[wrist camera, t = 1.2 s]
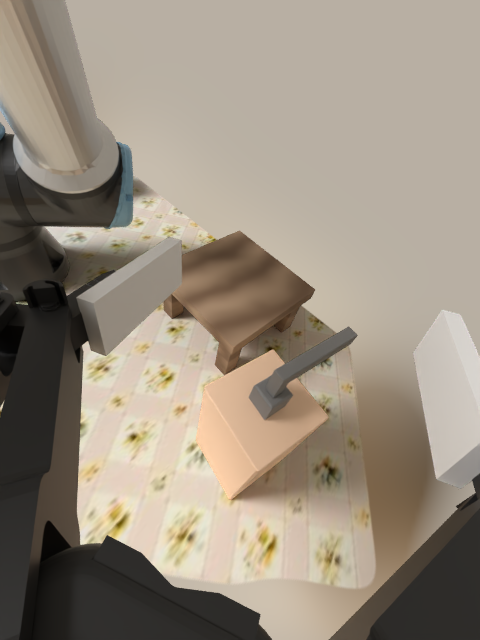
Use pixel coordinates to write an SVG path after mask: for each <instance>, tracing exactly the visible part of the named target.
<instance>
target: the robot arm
mask: <svg viewBox="0 0 480 640" xmlns="http://www.w3.org/2000/svg"><path fill="white" fill-rule="evenodd" d="M0 111H1V112H2V114H3V115H4V117H5V119H6V120H7V122H8V123H9V125H10V126H11V128H12V129H13V131H14V133H15V135H12V134H6V133H5V128H4V126H3V125H2V124H1V123H0V407H1V405H2V403H3V402H4V404H3V408H2V412H1V415H0V640H272V639H271V638H270V636H269V635H268V634H267V632H266V631H265V630H264V629H263V628H262V627H261V626H260V625H259V619H260V614H259V613H257V612H255V611H253V610H251V609H249V608H247V607H245V606H243V605H241V604H239V603H237V602H235V601H234V600H232V599H230V598H228V597H226V596H224V595H222V594H220V593H214V592H206V591H198V590H191V589H184V588H177V587H174V586H172V585H171V584H170V583H169V582H168V581H167V580H166V579H165V578H164V577H163V575H162V574H161V573H160V572H159V571H158V570H157V569H156V568H155V567H154V566H153V565H152V564H151V563H150V562H149V560H148V559H147V558H146V557H145V556H144V555H143V554H142V553H141V552H139V551H137V550H135V549H133V548H131V547H129V546H127V545H125V544H123V543H121V542H119V541H117V540H115V539H113V538H111V537H109V536H108V535H107V536H106V538H105V540H104V541H103V543H102V544H100V543H94V544H84V545H80V531H79V524H78V518H77V490H78V466H79V442H80V418H81V394H82V371H83V349H82V345H83V344H84V343H85V342H87V341H89V345H90V348H91V351H94V352H97V353H99V354H102V355H105V356H107V355H108V354H109V353H110V352H111V351H112V350H113V349H114V348H115V347H116V346H117V345H118V344H119V343H120V342H121V341H123V340H124V339H125V338H126V337H127V336H128V335H129V334H130V333H131V332H132V331H133V330H134V329H135V328H136V327H137V326H138V325H139V324H140V323H141V322H142V321H144V320H145V319H146V318H147V317H148V316H149V315H150V314H151V313H152V312H153V311H154V310H155V309H156V308H157V307H158V306H159V305H160V304H161V303H162V302H163V301H165V300H166V299H167V298H168V297H169V296H170V295H171V294H172V293H173V292H174V291H175V290H176V289H177V288H178V287H179V286H180V285H181V284H182V244H181V240H179V239H175V238H171V237H168V238H166V239H165V240H163V241H162V242H160V243H159V244H157V245H156V246H154V247H153V248H151V249H150V250H148V251H146V252H145V253H143V254H142V255H140V256H139V257H137V258H136V259H134V260H133V261H131V262H130V263H128V264H127V265H125V266H124V267H122V268H120V269H119V270H117V271H114V270H113V271H110V272H107V273H104V274H101V275H100V276H98V277H97V278H95V279H94V280H92V281H90V282H89V283H87V285H84V286H82V287H81V288H79V289H78V290H76V291H74V292H73V293H71V294H70V295H68V296H66V293H65V290H64V286H63V283H62V281H63V280H64V278H65V277H66V275H67V273H68V271H69V261H68V258H67V255H66V253H65V250H64V249H63V247H62V246H61V245H60V244H59V243H58V241H57V240H56V239H55V238H54V237H53V236H52V235H51V234H50V233H49V231H48V230H47V229H46V228H45V227H44V226H58V227H104V228H106V229H110V228H112V227H126V226H128V225H129V224H130V223H131V222H132V219H133V168H132V154H131V150H130V148H129V147H128V146H127V145H125V144H122V143H120V142H116V140H115V138H114V136H113V134H112V132H111V131H110V130H109V128H108V127H107V126H106V125H105V124H104V123H103V122H102V121H101V120H99V119H98V118H97V116H96V112H95V108H94V105H93V101H92V97H91V94H90V90H89V86H88V83H87V79H86V75H85V72H84V68H83V64H82V61H81V57H80V53H79V50H78V46H77V43H76V39H75V35H74V31H73V28H72V24H71V20H70V17H69V13H68V9H67V6H66V2H65V0H0ZM21 300H27V303H28V305H22V304H16V303H15V301H21ZM413 356H414V361H415V366H416V372H417V377H418V382H419V388H420V394H421V399H422V405H423V410H424V415H425V421H426V426H427V432H428V437H429V443H430V448H431V454H432V459H433V464H434V470H435V475H436V479H437V480H439V481H441V482H444V483H447V484H449V485H452V486H455V487H458V488H460V489H461V488H463V487H464V486H465V485H467V484H468V483H470V482H471V481H473V485H474V488H475V492H476V493H475V494H474V495H472V496H470V497H469V498H467V499H466V500H464V501H463V502H462V503H460V504H459V505H457V506H456V507H457V508H458V509H457V510H456V511H455V512H454V513H453V514H452V515H451V517H449V519H447V521H445V522H444V524H443V525H442V526H441V527H440V528H439V529H438V530H437V531H436V532H435V533H434V534H433V535H432V536H431V537H430V538H429V539H428V540H427V541H426V542H425V543H424V544H423V545H422V546H421V547H420V548H419V549H418V550H417V551H416V552H415V553H414V554H413V555H412V556H411V557H410V558H409V559H408V560H407V561H406V562H405V563H404V564H403V565H402V566H401V567H400V568H399V569H398V570H397V571H396V572H395V573H394V574H393V575H392V576H391V577H390V578H389V579H388V580H387V581H386V582H385V583H384V584H383V585H382V586H381V587H380V588H379V589H378V591H377V592H376V593H375V594H374V595H373V596H372V597H371V598H370V599H369V600H368V601H367V602H366V603H365V604H364V605H363V606H362V607H361V608H360V609H359V610H358V611H357V612H356V613H355V614H354V615H353V616H352V617H351V618H350V619H349V620H348V621H347V622H346V623H345V624H344V625H343V626H342V627H341V628H340V629H339V630H338V631H337V632H336V633H335V634H334V635H333V636H332V637H331V638H330V639H329V640H480V357H479V354H478V352H477V350H476V348H475V345H474V343H473V341H472V339H471V337H470V334H469V332H468V330H467V328H466V325H465V323H464V321H463V319H462V316H461V315H460V314H457V313H453V312H449V311H445V310H442V311H441V313H440V314H439V315H438V317H437V318H436V320H435V321H434V323H433V324H432V326H431V327H430V329H429V330H428V332H427V333H426V335H425V336H424V338H423V339H422V341H421V342H420V344H419V345H418V347H417V348H416V350H415V351H414V352H413ZM4 400H5V401H4Z"/></svg>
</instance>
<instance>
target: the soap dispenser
mask: <svg viewBox="0 0 480 640" xmlns="http://www.w3.org/2000/svg"><path fill="white" fill-rule="evenodd" d="M356 337H357V334H356V333H355V332H354V331H353V330H352V329H351V328H350V327H347V328H346V329H344V330H342V331H340V332H339V333H337V334H335V335H334V336H332V337H330V338H328V339H327V340H325V341H323V342H322V343H320V344H318V345H317V346H315V347H313V348H311V349H310V350H308V351H306V352H305V353H303V354H301V355H299V356H298V357H296V358H294V359H293V360H291V361H289V362H287V363H286V364H285V363H284V361H283V360H282V359H281V358H280V357H279V355H278V354H277V353H276V352H275V351H274V350H271V351H269V352H267V353H265V354H263V355H261V356H259V357H258V358H256V359H254V360H252V361H250V362H248V363H246V364H245V365H243V366H241V367H239V368H237V369H235V370H233V371H232V372H230V373H228V374H226V375H224V376H222V377H220V378H219V379H217V380H215V381H213V382H211V383H209V384H208V385H206V386H205V387H204V393H203V399H202V405H201V411H200V417H199V424H198V430H197V436H196V442H197V443H198V445H199V447H200V449H201V450H202V452H203V454H204V456H205V458H206V459H207V461H208V463H209V465H210V466H211V468H212V470H213V472H214V473H215V475H216V477H217V479H218V481H219V482H220V484H221V486H222V488H223V489H224V491H225V493H226V495H227V497H228V498H229V499H230V500H232V499H233V498H234V497H235V496H237V495H238V494H239V493H241V492H242V491H243V490H244V489H246V488H247V487H248V486H249V485H251V484H252V483H253V482H255V481H256V480H257V479H258V478H260V477H261V476H262V475H263V474H265V473H266V472H267V471H269V470H270V469H271V468H272V467H274V466H275V465H276V464H277V463H279V462H280V461H281V460H282V459H284V458H285V457H286V456H287V455H288V454H289V453H290V452H291V451H293V450H294V449H295V448H296V447H297V446H298V445H299V444H300V443H301V442H303V441H304V440H305V439H306V438H307V437H308V436H309V435H310V434H312V433H313V432H314V431H315V430H316V429H317V428H318V427H319V426H321V425H322V424H323V423H324V422H325V421H326V420H327V419H328V418H329V416H328V415H327V414H326V412H325V411H324V410H323V409H322V408H321V406H320V405H319V404H318V403H317V402H316V400H315V399H314V398H313V397H312V395H311V394H310V393H309V392H308V391H307V389H306V388H305V387H304V386H303V385H302V383H301V382H300V381H299V380H298V378H297V377H299V376H301V375H302V374H304V373H305V372H307V371H308V370H310V369H312V368H313V367H315V366H316V365H318V364H320V363H321V362H323V361H324V360H326V359H327V358H329V357H331V356H332V355H334V354H335V353H337V352H339V351H340V350H342V349H343V348H345V347H347V346H348V345H350V344H351V343H352V342H353V340H354V339H355V338H356Z"/></svg>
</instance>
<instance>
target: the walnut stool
mask: <svg viewBox="0 0 480 640" xmlns="http://www.w3.org/2000/svg"><path fill="white" fill-rule="evenodd" d="M314 291H315V289H314V288H312V287H311V286H310V285H309V284H307V283H306V282H305V281H303V280H302V279H301V278H300V277H298V276H297V275H296V274H294V273H293V272H292V271H291V270H289V269H288V268H287V267H285V266H284V265H283V264H282V263H280V262H279V261H278V260H276V259H275V258H274V257H273V256H271V255H270V254H269V253H267V252H266V251H264V249H262V248H261V247H260V246H259V245H257V244H256V243H255V242H253V241H252V240H251V239H250V238H248V237H247V236H246V235H244V234H243V233H242V232H241V231H237V232H235V233H233V234H230V235H228V236H226V237H223V238H221V239H219V240H216V241H214V242H211V243H209V244H207V245H204V246H202V247H200V248H197V249H195V250H193V251H190V252H188V253H185V254H183V255H182V284H181V285H180V286H179V287H178V288H177V289H176V290H175V291H174V292H173V293H172V294H171V295H170V296H169V297H168V298H167V299H166V300H165V301H164V311H165V312H166V313H167V314H168V315H169V316H170V317H171V318H174V317H176V316H178V315H180V314H182V313H183V306H184V307H185V308H186V309H187V310H188V311H189V312H190V313H191V314H192V315H193V316H194V317H195V318H196V319H197V320H198V321H199V322H200V323H201V324H202V325H203V326H204V327H205V328H206V329H207V330H208V331H209V332H210V333H211V334H212V336H213V337H214V338H215V339H216V340H217V341H218V342H219V347H218V352H217V357H216V362H215V366H216V367H217V368H218V369H219V370H220V371H221V372H222V373H223V374H224V375H226V374H227V373H229V372H230V371H231V370H233V369H234V368H235V367H236V365H237V362H238V358H239V355H240V352H241V349H242V347H244V346H245V345H246V344H248V343H249V342H251V341H252V340H253V339H255V338H256V337H258V336H259V335H260V334H262V333H263V332H264V331H266V330H267V329H269V328H270V327H271V326H273V325H274V326H275V327H276V328H278V329H279V330H280V331H281V332H283V331H284V330H286V329H287V328H288V327H290V325H291V323H292V321H293V319H294V317H295V315H296V313H297V311H298V309H299V307H300V306H301V305H302V304H303V303H305V302H306V301H308V300H309V299H310V298H311V297H312V295H313V293H314Z"/></svg>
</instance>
